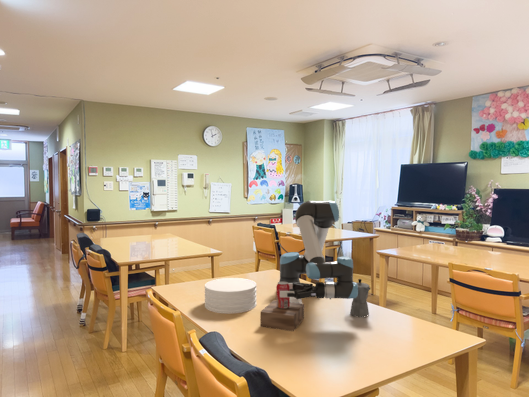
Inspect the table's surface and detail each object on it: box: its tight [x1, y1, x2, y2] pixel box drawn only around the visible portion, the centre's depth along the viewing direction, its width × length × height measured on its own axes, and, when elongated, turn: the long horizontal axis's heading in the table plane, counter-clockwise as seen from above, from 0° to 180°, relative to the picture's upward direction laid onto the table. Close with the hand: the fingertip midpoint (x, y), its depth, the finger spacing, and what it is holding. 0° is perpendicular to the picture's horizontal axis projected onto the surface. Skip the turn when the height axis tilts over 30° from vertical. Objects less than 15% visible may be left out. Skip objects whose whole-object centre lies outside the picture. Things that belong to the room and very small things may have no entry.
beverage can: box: [275, 281, 290, 309], centre depth 183 cm, size 6×6×12 cm
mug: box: [290, 297, 303, 304], centre depth 201 cm, size 12×10×8 cm
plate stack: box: [204, 277, 257, 315], centre depth 209 cm, size 28×28×12 cm
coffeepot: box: [350, 278, 371, 318], centre depth 195 cm, size 15×9×18 cm, turn 33°
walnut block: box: [259, 300, 305, 332], centre depth 183 cm, size 18×16×7 cm
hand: (279, 289), depth 182 cm, fingers open, 13 cm apart
